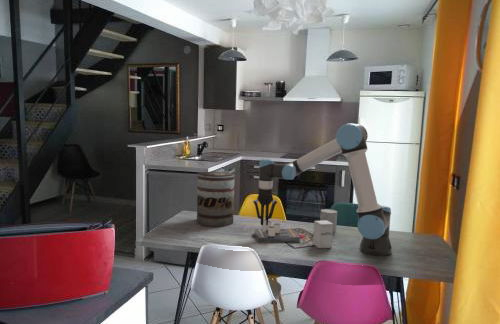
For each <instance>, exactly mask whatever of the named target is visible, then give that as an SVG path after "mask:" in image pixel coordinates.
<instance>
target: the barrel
mask: <svg viewBox="0 0 500 324" xmlns="http://www.w3.org/2000/svg"><path fill="white" fill-rule="evenodd" d="M235 178H236V177H235V174H234V173H232V172H228V171H227V172H226V171H204V172H202V171H201V172H198V173H197V187H196V188H197V193H196V195H197V196H196V198H197V200H196V201H197V202H196V203H197V204H196V224H198V225H200V226H202V227H209V228H221V227H223V228H225V227H228V226H231V225H233V224H234V213H235V212H234V207H235V205H234V204H235Z"/></svg>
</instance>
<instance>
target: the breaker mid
mask: <svg viewBox="0 0 500 324" xmlns="http://www.w3.org/2000/svg"><path fill="white" fill-rule="evenodd" d="M273 226H274V227H275V233H280V229H281V224H280V223H277V222H275V223H273Z"/></svg>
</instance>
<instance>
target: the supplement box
mask: <svg viewBox="0 0 500 324" xmlns="http://www.w3.org/2000/svg"><path fill="white" fill-rule="evenodd" d="M312 236H313V238H312V240H313V241H312V244H313V246H315V247H317V249H327V248H328V249H329V248H332V246H333V223H331V222H329V221H327V220H323V221H320V220H314V221H313V235H312Z"/></svg>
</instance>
